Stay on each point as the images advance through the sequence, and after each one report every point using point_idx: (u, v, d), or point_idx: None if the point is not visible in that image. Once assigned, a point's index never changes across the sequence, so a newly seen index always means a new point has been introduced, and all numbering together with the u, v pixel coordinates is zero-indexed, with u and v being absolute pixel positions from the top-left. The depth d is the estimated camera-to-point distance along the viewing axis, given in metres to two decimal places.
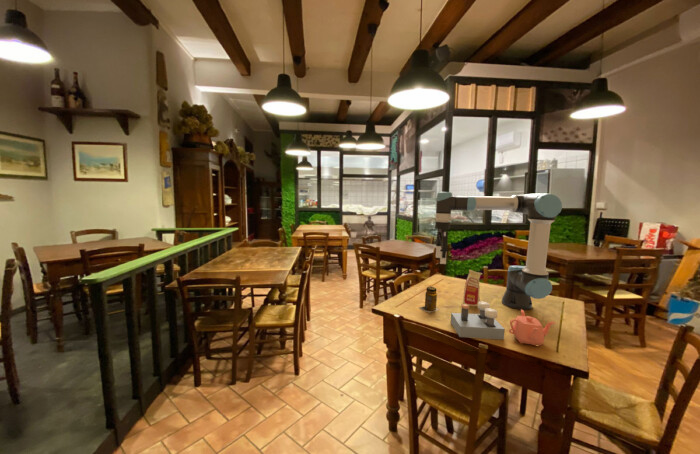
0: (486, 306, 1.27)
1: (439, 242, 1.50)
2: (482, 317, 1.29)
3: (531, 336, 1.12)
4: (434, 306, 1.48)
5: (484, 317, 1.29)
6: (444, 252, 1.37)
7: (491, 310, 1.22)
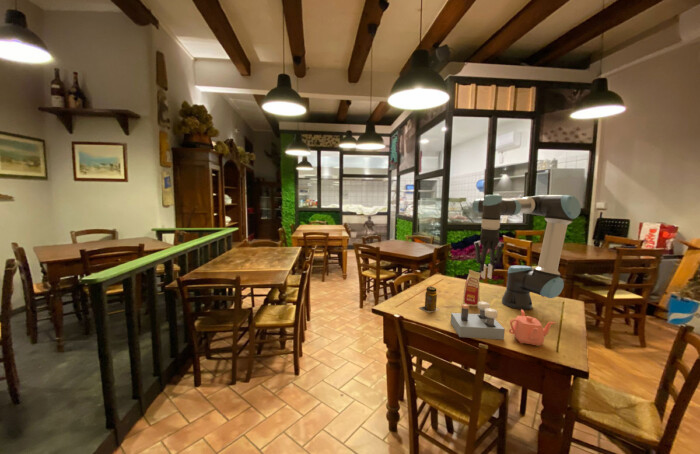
0: (486, 306, 1.27)
1: (491, 257, 1.27)
2: (482, 317, 1.29)
3: (531, 336, 1.12)
4: (434, 306, 1.48)
5: (484, 317, 1.29)
6: (480, 264, 1.27)
7: (491, 310, 1.22)
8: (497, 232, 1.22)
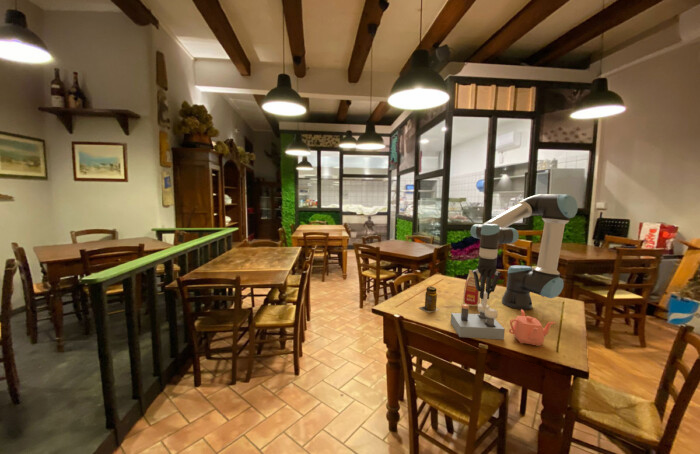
0: None
1: (486, 285, 1.28)
2: None
3: (531, 336, 1.12)
4: (434, 306, 1.48)
5: None
6: (480, 292, 1.29)
7: (491, 310, 1.22)
8: (494, 261, 1.24)
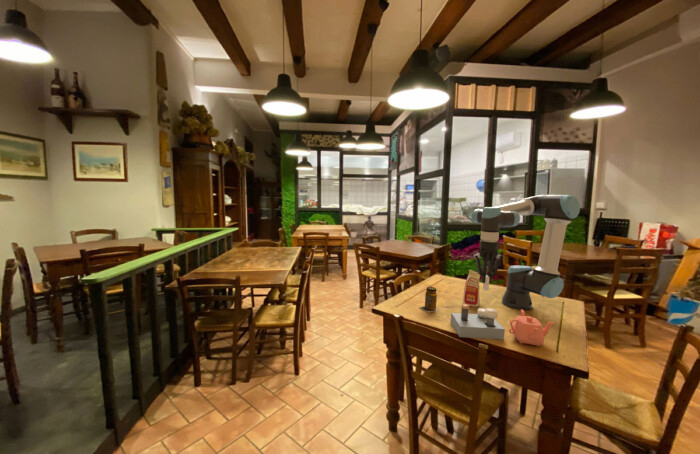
0: None
1: (488, 269, 1.27)
2: None
3: (531, 336, 1.12)
4: (434, 306, 1.48)
5: None
6: (482, 276, 1.28)
7: (491, 310, 1.22)
8: (496, 244, 1.23)
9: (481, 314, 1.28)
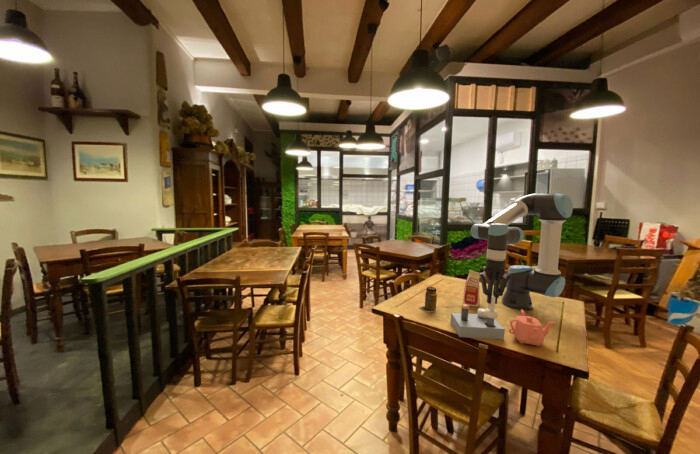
0: None
1: (494, 288, 1.20)
2: None
3: (531, 336, 1.12)
4: (434, 306, 1.48)
5: None
6: (487, 296, 1.21)
7: None
8: (503, 263, 1.16)
9: (481, 314, 1.28)
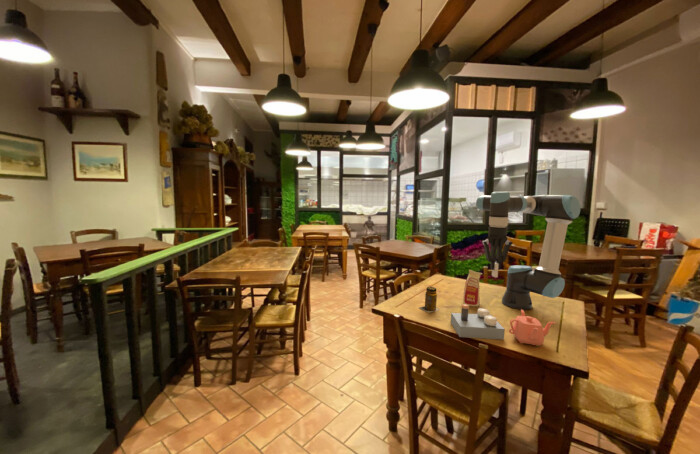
0: (485, 313, 1.28)
1: (497, 255, 1.25)
2: None
3: (531, 336, 1.12)
4: (434, 306, 1.48)
5: None
6: (491, 263, 1.25)
7: (490, 317, 1.23)
8: (505, 230, 1.20)
9: (481, 314, 1.28)
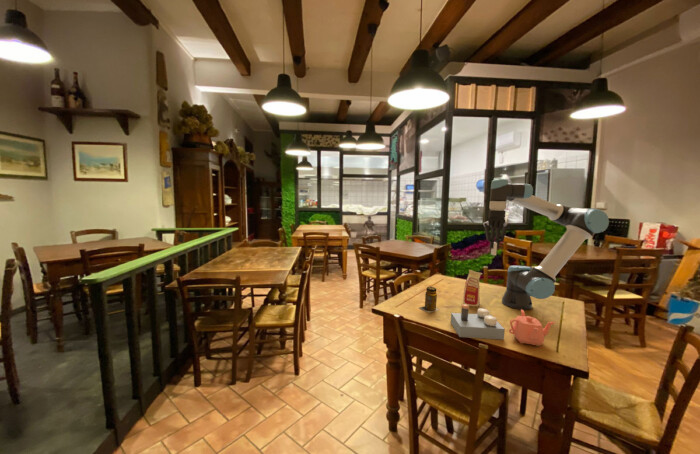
0: (485, 313, 1.28)
1: (496, 235, 1.41)
2: None
3: (531, 336, 1.12)
4: (434, 306, 1.48)
5: None
6: (490, 242, 1.41)
7: (490, 317, 1.23)
8: (504, 212, 1.36)
9: (481, 314, 1.28)
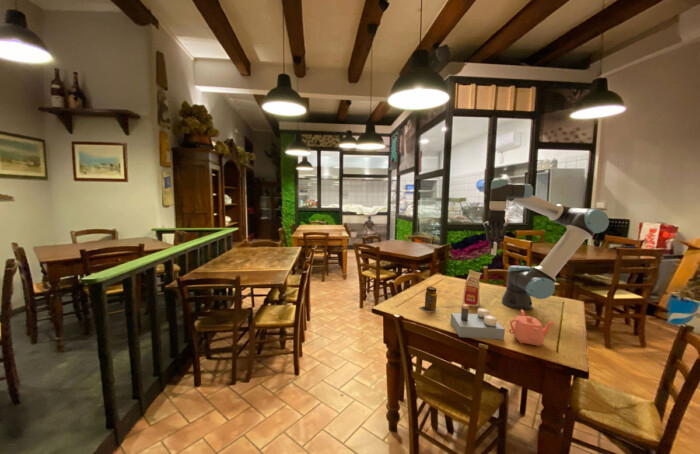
0: (485, 313, 1.28)
1: (496, 235, 1.41)
2: None
3: (531, 336, 1.12)
4: (434, 306, 1.48)
5: None
6: (490, 242, 1.41)
7: (490, 317, 1.23)
8: (503, 212, 1.36)
9: (481, 314, 1.28)
